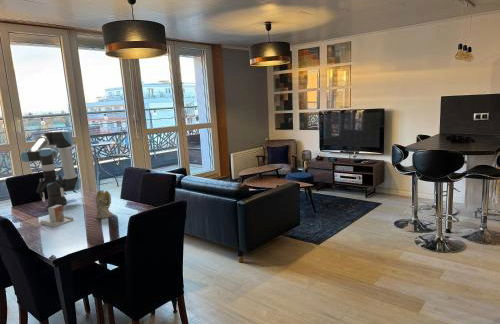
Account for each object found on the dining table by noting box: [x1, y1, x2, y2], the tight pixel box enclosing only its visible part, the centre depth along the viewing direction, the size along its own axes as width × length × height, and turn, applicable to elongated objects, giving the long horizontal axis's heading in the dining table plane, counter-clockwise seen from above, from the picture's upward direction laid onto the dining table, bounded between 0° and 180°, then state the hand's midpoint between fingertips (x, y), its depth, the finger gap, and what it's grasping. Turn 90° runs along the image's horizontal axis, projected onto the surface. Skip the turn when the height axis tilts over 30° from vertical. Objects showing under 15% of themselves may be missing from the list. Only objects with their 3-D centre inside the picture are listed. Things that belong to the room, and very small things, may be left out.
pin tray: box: [40, 212, 74, 228], centre depth 247 cm, size 14×18×8 cm
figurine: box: [95, 190, 113, 220], centre depth 252 cm, size 12×12×20 cm
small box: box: [47, 205, 65, 222], centre depth 247 cm, size 8×6×10 cm
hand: (53, 198), depth 245 cm, fingers open, 13 cm apart
